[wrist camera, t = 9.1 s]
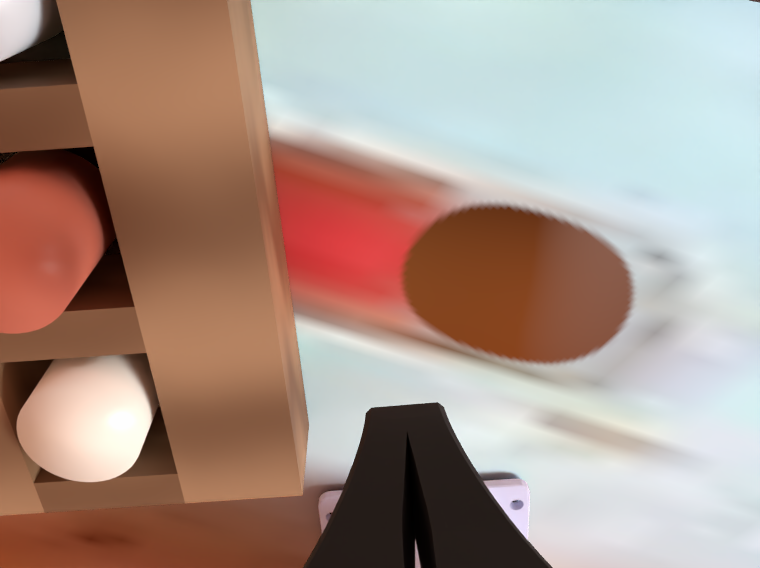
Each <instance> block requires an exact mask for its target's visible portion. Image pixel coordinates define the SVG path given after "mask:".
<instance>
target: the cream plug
mask: <svg viewBox="0 0 760 568" xmlns="http://www.w3.org/2000/svg"><path fill="white" fill-rule="evenodd" d="M158 405H159V399H158V395H157V392H156V388H155V384H154V380H153V376H152V372H151V368H150V364H149V360H148V356H147V353H137V354H123V355H108V356H93V357H79V358H64V359H54V360H53V362H52V363H51V365H50V366H49V368H48V369H47V371H46V372H45V374H44V375H43V377H42V378H41V380H40V381H39V383H38V384H37V386H36V387H35V389H34V390H33V392H32V394H31V395H30V397H29V398H28V400H27V401H26V403H25V404H24V406H23V407H22V409H21V410H20V413H19V415H18V419H17V427H16V429H17V435H18V439H19V441H20V444H21V446H22V447H23V449H24V451H25V452H26V453H27V455H28V456H29V457H30V458H31V459H32V460H33V461H34V462H35V463H36V464H38V465H39V466H40V467H42V468H43V469H45V470H46V471H48V472H50V473H52V474H54V475H56V476H59V477H62V478H65V479H69V480H73V481H79V482H99V481H105V480H109V479H112V478H115V477H117V476H119V475H121V474H123V473H124V472H126V471H127V470H128V469H129V468H131V467H132V465H133V464H134V463H135V462H136V460H137V458H138V456H139V454H140V451H141V449H142V446H143V444H144V441H145V438H146V436H147V433H148V431H149V428H150V426H151V423H152V421H153V418H154V415H155V413H156V410H157V408H158Z"/></svg>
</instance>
